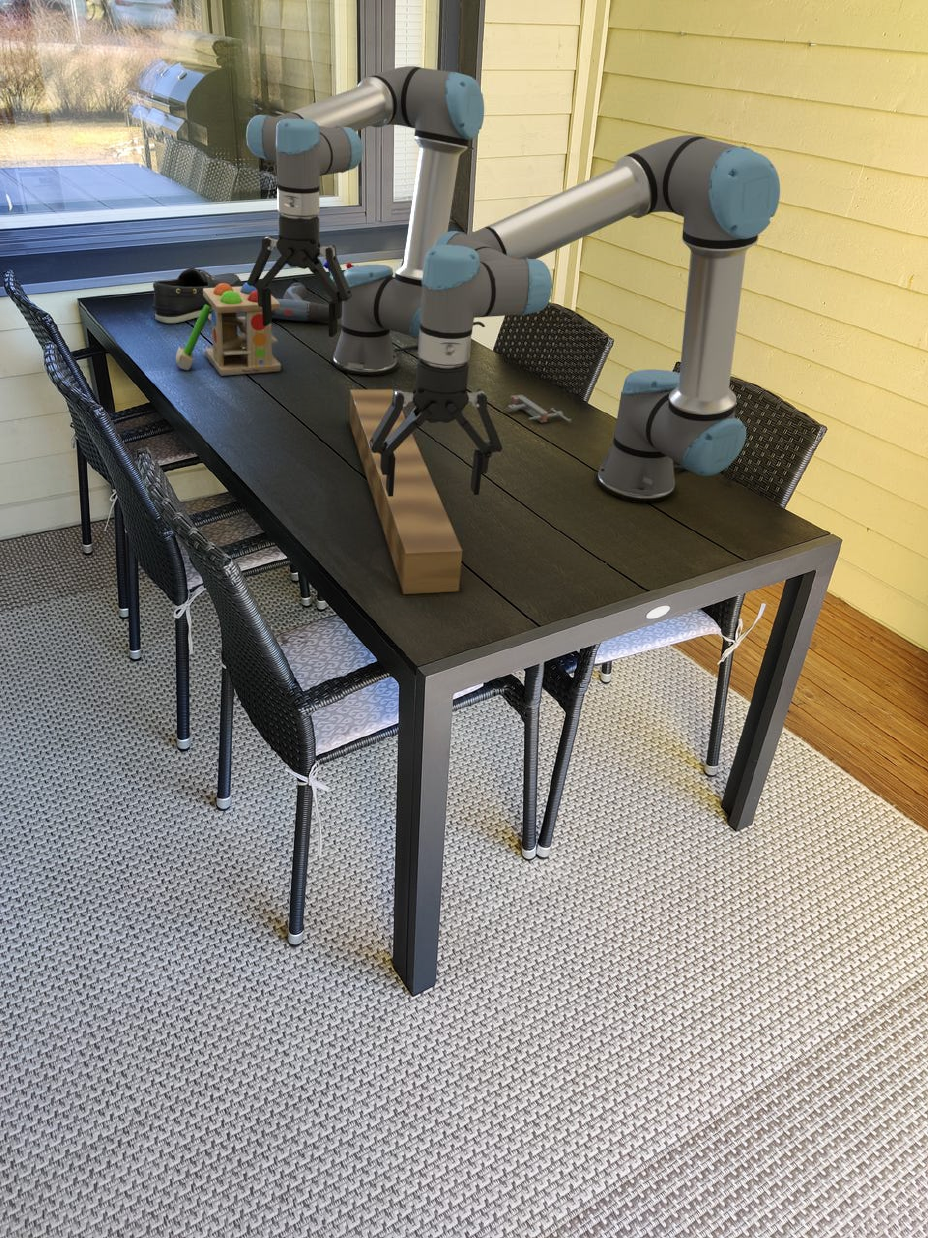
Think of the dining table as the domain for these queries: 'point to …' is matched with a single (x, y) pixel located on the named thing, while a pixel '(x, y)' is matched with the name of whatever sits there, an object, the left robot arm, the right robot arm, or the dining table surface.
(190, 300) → the boat shoe
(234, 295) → the pounding bench toy
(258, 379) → the dining table surface
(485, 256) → the right robot arm
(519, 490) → the dining table surface
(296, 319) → the power drill
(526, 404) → the clamp
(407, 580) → the wide beam
